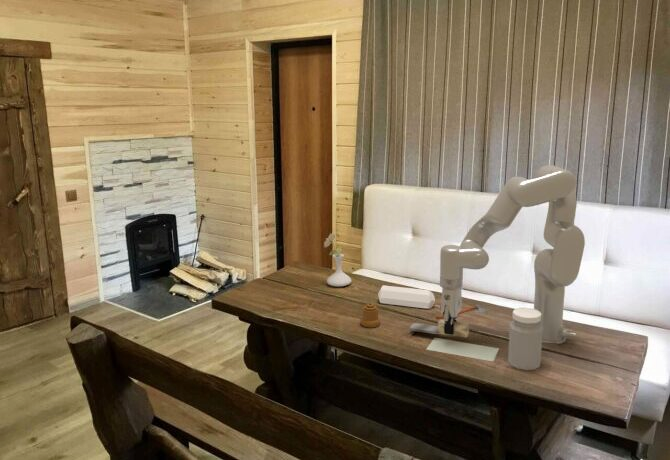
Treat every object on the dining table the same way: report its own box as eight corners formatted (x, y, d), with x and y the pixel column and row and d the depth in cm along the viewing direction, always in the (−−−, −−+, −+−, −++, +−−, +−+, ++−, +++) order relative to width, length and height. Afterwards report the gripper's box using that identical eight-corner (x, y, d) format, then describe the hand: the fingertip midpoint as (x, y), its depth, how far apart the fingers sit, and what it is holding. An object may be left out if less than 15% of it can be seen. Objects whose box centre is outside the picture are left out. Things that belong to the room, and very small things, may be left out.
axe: (446, 324, 208) (446, 320, 208) (435, 319, 214) (435, 315, 214) (490, 312, 219) (490, 308, 219) (479, 307, 225) (479, 303, 224)
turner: (469, 333, 193) (469, 322, 192) (465, 338, 188) (466, 327, 188) (414, 324, 202) (414, 314, 201) (409, 329, 197) (409, 319, 196)
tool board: (499, 351, 186) (499, 348, 186) (493, 364, 177) (493, 361, 177) (434, 340, 195) (434, 337, 195) (426, 352, 187) (426, 349, 187)
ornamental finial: (371, 330, 205) (356, 324, 210) (384, 323, 210) (369, 318, 216) (371, 309, 203) (356, 304, 209) (384, 304, 209) (369, 299, 214)
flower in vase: (340, 278, 263) (339, 227, 257) (356, 284, 254) (355, 231, 248) (318, 285, 255) (316, 232, 248) (334, 291, 246) (333, 236, 240)
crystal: (373, 296, 228) (431, 303, 219) (378, 283, 233) (435, 289, 224) (376, 308, 233) (433, 315, 224) (381, 295, 238) (437, 301, 229)
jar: (545, 364, 176) (549, 311, 172) (532, 376, 169) (536, 321, 165) (515, 355, 183) (518, 304, 178) (502, 366, 176) (504, 313, 171)
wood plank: (427, 326, 205) (416, 327, 209) (426, 321, 205) (415, 322, 208) (406, 342, 194) (394, 343, 197) (404, 337, 194) (392, 337, 197)
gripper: (456, 290, 180) (454, 343, 185) (468, 275, 194) (466, 324, 199) (433, 287, 183) (432, 339, 188) (446, 273, 197) (445, 321, 202)
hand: (450, 331), depth 193 cm, fingers closed on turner, 2 cm apart
